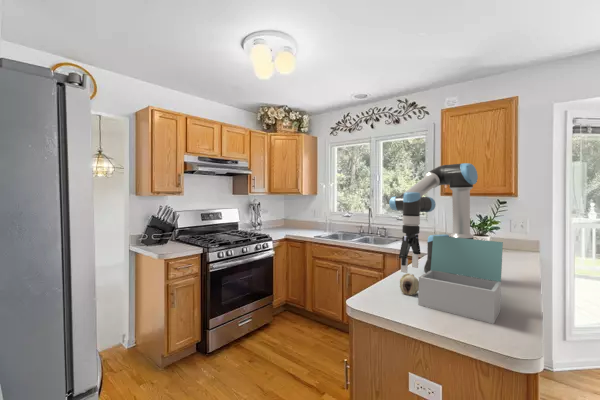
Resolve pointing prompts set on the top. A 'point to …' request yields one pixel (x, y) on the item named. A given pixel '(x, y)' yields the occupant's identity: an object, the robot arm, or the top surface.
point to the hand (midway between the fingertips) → (409, 269)
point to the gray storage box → (460, 295)
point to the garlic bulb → (409, 284)
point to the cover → (467, 257)
